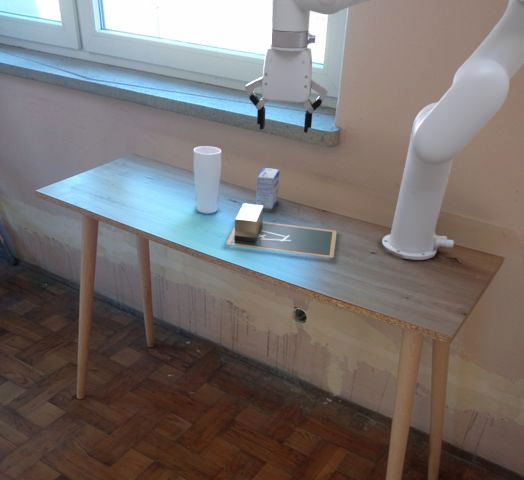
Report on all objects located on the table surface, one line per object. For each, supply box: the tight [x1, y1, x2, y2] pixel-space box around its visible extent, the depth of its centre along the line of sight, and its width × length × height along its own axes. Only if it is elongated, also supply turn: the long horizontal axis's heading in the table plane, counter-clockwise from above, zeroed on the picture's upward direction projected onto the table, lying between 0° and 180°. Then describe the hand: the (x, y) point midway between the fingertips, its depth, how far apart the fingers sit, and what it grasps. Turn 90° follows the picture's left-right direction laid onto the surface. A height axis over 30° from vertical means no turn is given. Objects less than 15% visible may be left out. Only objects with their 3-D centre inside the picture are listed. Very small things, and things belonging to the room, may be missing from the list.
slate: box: [225, 221, 338, 259], centre depth 129 cm, size 24×15×1 cm, turn 81°
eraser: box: [234, 202, 264, 243], centre depth 127 cm, size 5×10×5 cm, turn 171°
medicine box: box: [255, 167, 280, 210], centre depth 144 cm, size 8×4×9 cm, turn 168°
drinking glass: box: [192, 145, 222, 215], centre depth 136 cm, size 7×7×15 cm
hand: (284, 129), depth 122 cm, fingers open, 9 cm apart
